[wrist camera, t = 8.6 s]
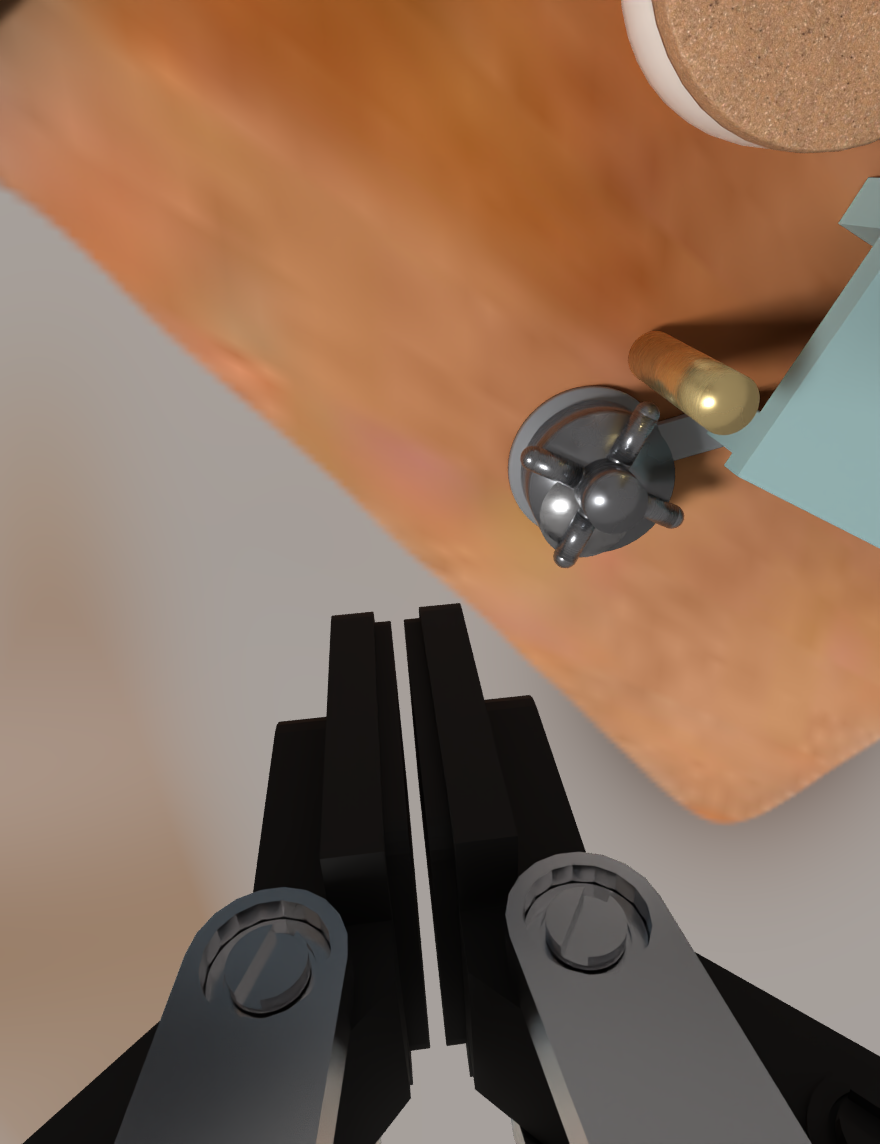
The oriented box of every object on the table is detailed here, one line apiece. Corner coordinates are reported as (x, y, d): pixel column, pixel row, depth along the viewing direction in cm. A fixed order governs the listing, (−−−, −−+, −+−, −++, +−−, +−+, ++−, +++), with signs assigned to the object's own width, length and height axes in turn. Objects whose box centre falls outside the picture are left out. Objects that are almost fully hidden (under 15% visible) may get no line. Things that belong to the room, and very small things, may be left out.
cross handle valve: (584, 292, 30) (646, 326, 23) (741, 371, 32) (838, 422, 25) (472, 514, 34) (500, 595, 27) (619, 571, 36) (677, 658, 29)
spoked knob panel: (480, 499, 34) (499, 548, 30) (724, 57, 27) (796, 36, 23) (840, 657, 40) (900, 718, 36) (1114, 330, 33) (1229, 355, 29)
